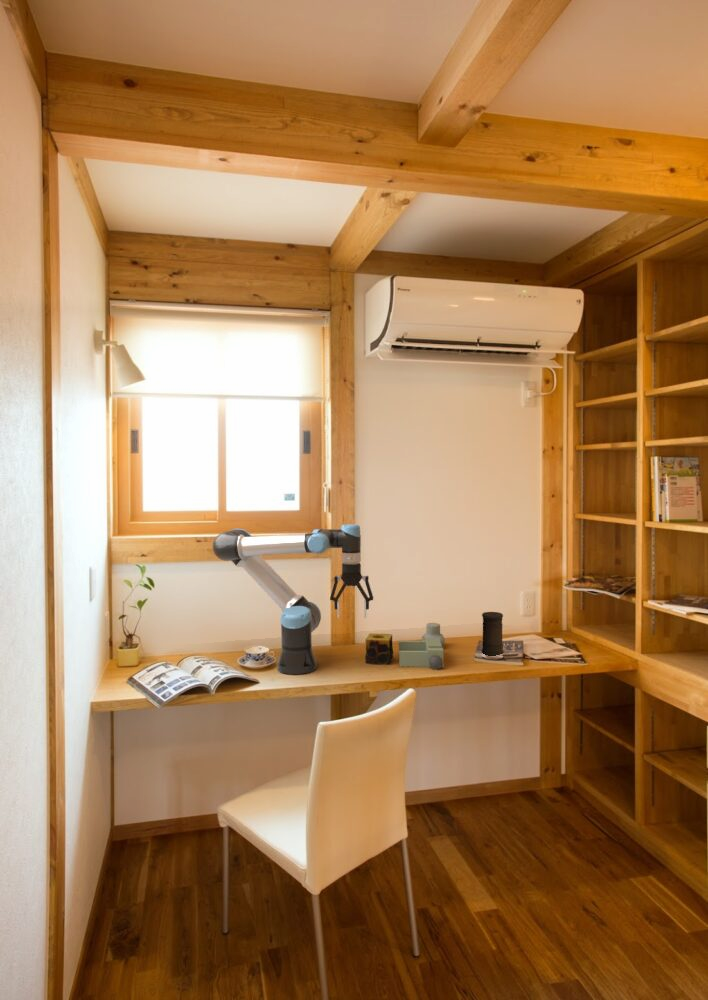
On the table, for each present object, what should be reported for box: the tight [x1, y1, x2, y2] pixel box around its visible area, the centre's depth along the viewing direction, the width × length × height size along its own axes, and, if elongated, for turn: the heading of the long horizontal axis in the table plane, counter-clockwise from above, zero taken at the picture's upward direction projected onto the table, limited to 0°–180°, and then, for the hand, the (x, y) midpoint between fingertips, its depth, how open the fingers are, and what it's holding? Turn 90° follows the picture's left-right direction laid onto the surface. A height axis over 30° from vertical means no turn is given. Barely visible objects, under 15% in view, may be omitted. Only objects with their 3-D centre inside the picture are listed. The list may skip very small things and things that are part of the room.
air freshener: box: [421, 622, 446, 647], centre depth 281 cm, size 11×8×10 cm
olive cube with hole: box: [364, 632, 394, 666], centre depth 262 cm, size 10×10×10 cm
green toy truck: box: [398, 638, 444, 670], centre depth 261 cm, size 17×22×8 cm
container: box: [481, 611, 505, 656], centre depth 265 cm, size 9×9×18 cm
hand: (351, 617), depth 262 cm, fingers open, 10 cm apart
